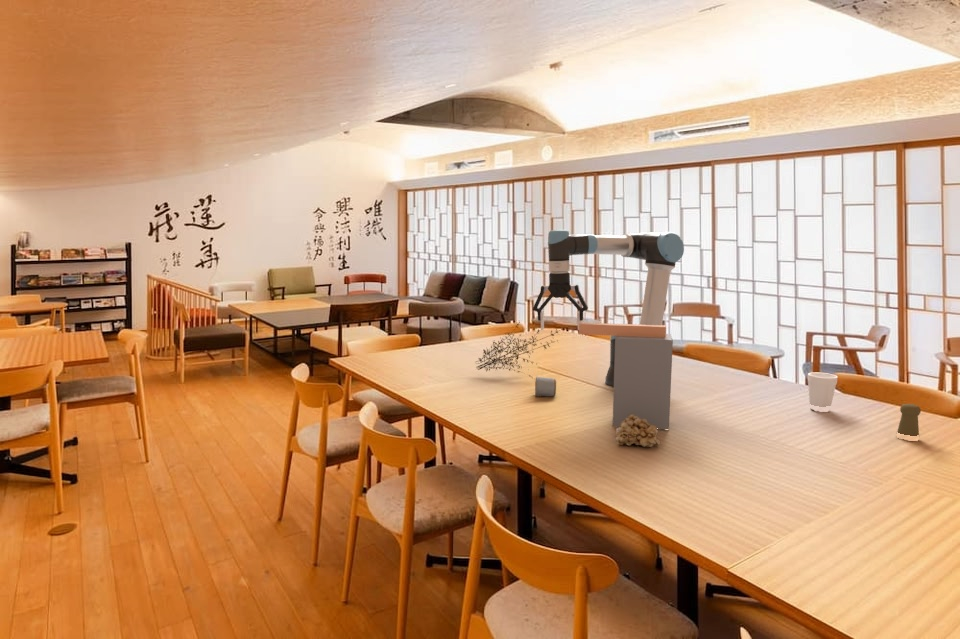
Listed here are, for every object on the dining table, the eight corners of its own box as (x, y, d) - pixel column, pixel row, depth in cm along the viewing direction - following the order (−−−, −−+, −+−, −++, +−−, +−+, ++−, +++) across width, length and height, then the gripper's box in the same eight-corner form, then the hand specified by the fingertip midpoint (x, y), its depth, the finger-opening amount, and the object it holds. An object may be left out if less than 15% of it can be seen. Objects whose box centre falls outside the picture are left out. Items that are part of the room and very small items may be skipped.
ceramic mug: (556, 398, 238) (556, 379, 237) (535, 398, 238) (535, 379, 238) (554, 392, 249) (554, 373, 248) (534, 391, 249) (534, 373, 248)
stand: (612, 426, 204) (615, 337, 200) (613, 416, 215) (616, 332, 211) (668, 430, 200) (672, 340, 195) (666, 419, 211) (670, 334, 207)
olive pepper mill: (896, 434, 196) (899, 400, 194) (919, 437, 192) (922, 403, 191) (895, 439, 191) (899, 405, 189) (919, 443, 188) (923, 408, 186)
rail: (579, 334, 206) (579, 324, 206) (580, 332, 210) (580, 322, 209) (665, 337, 200) (665, 327, 199) (664, 335, 203) (665, 325, 203)
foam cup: (831, 407, 225) (834, 373, 223) (837, 414, 216) (840, 379, 215) (803, 405, 228) (805, 371, 226) (807, 412, 220) (810, 377, 218)
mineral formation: (612, 447, 184) (616, 429, 198) (657, 459, 180) (658, 439, 194) (617, 423, 182) (621, 406, 196) (663, 434, 178) (664, 416, 192)
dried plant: (455, 341, 263) (551, 301, 252) (474, 336, 293) (560, 299, 282) (482, 407, 261) (580, 369, 250) (498, 395, 291) (586, 360, 280)
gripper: (523, 273, 224) (525, 331, 227) (592, 272, 217) (593, 331, 220) (527, 272, 231) (529, 327, 234) (594, 270, 224) (595, 327, 228)
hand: (560, 329), depth 227 cm, fingers open, 13 cm apart
